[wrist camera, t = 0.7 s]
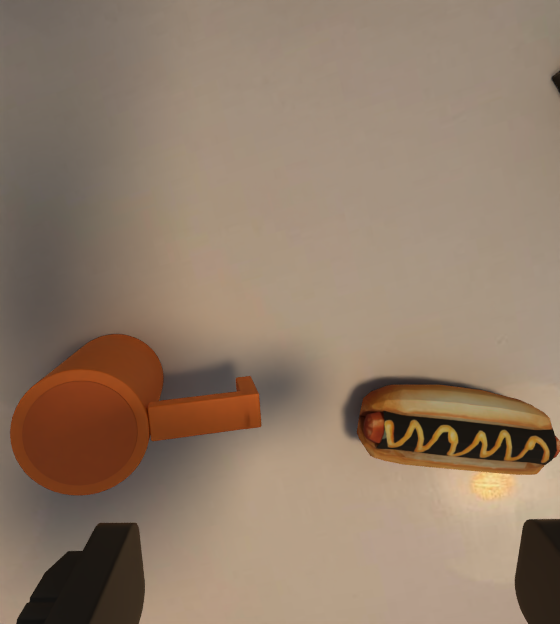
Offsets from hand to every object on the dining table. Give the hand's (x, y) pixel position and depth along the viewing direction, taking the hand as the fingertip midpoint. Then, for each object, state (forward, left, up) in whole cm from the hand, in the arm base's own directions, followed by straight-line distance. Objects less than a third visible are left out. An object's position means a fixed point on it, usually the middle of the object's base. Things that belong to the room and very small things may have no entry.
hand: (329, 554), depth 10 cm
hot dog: (+14, +3, -21) cm, 25 cm away
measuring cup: (-4, -4, -20) cm, 21 cm away
